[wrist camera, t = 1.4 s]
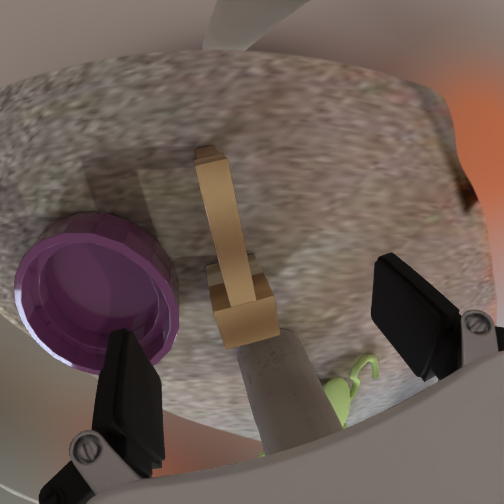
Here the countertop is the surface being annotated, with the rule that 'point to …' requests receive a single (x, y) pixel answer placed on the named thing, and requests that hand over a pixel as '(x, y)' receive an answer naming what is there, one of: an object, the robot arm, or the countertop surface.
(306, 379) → the thermos bottle
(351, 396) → the figurine
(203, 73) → the countertop surface
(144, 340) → the bowl
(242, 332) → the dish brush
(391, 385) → the countertop surface
